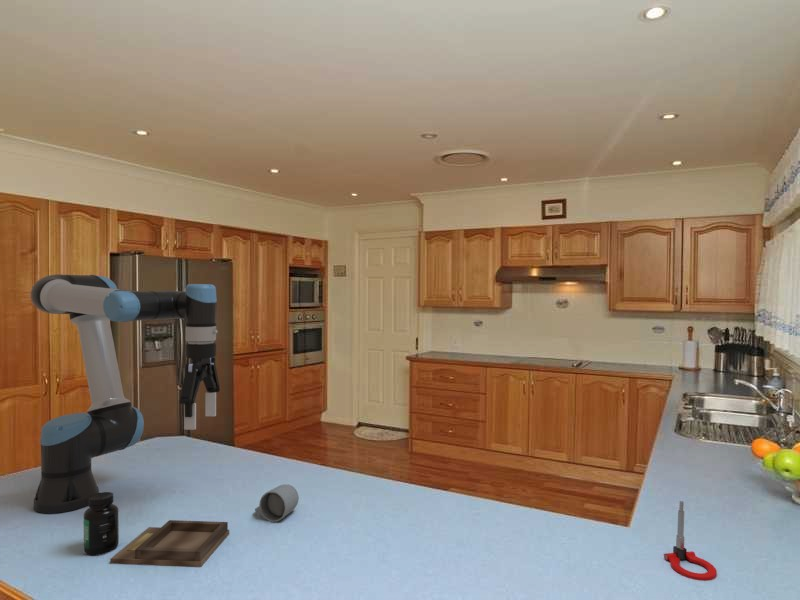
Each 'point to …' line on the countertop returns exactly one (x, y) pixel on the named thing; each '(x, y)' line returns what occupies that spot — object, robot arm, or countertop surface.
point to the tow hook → (687, 554)
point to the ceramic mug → (278, 503)
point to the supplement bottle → (101, 525)
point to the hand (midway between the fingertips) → (200, 422)
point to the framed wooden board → (174, 544)
